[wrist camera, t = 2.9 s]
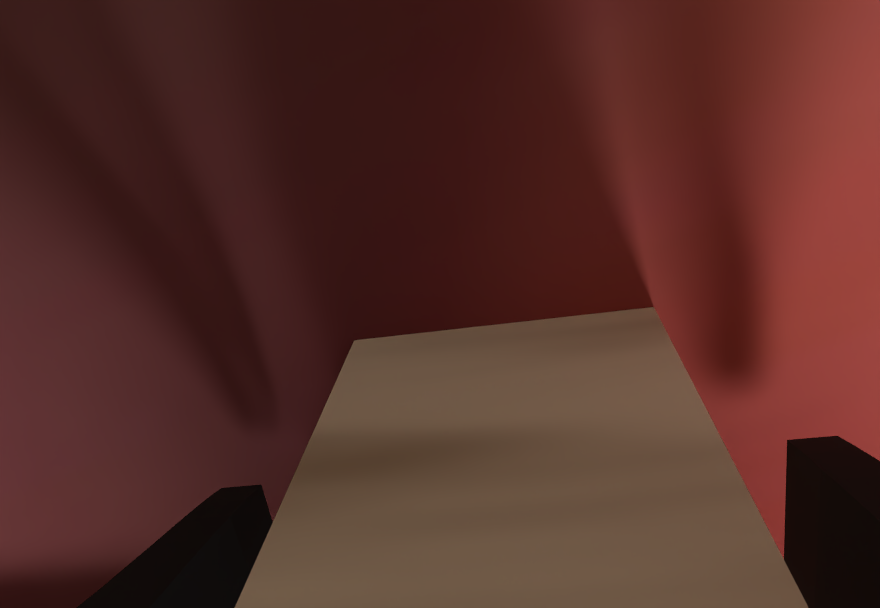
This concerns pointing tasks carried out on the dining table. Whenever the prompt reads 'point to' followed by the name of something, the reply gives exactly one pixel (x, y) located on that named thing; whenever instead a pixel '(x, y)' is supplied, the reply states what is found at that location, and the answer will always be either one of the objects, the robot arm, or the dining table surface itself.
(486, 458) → the birch block
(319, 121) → the dining table surface
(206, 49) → the dining table surface
